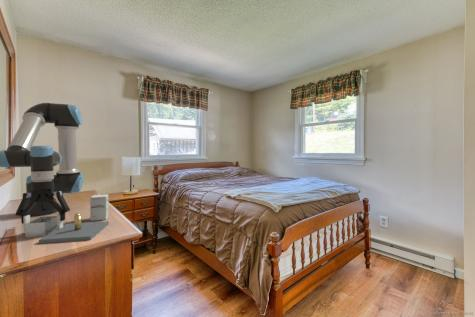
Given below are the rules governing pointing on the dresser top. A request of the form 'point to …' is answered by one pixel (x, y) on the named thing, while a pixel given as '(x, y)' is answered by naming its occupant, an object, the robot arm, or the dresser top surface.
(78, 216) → the peg
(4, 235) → the dresser top surface
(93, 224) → the board
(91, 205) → the supplement box
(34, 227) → the grey rectangular box
